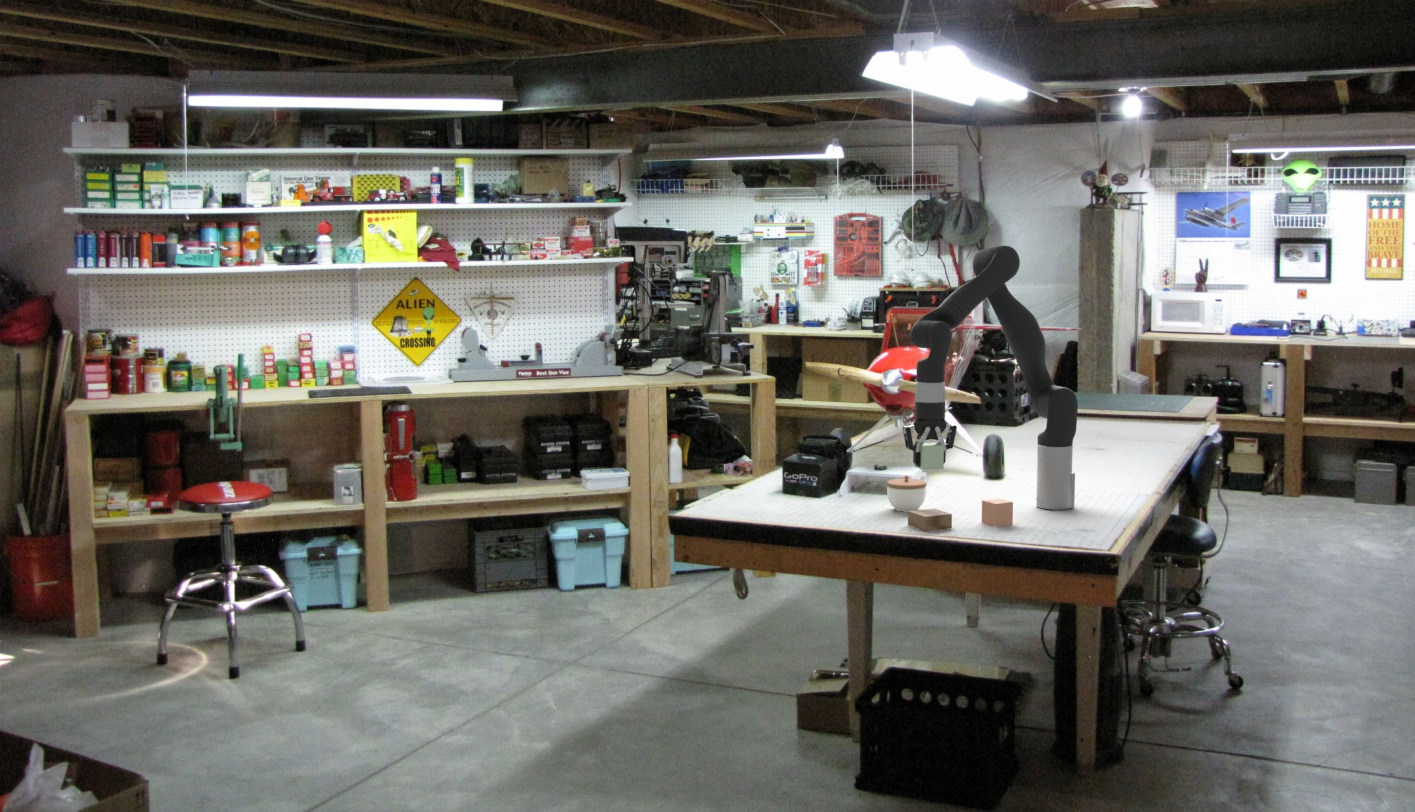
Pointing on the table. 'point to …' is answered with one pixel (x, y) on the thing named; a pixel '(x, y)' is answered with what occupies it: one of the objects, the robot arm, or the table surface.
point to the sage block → (932, 456)
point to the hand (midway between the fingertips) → (929, 465)
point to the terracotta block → (997, 512)
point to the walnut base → (929, 519)
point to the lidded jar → (906, 493)
